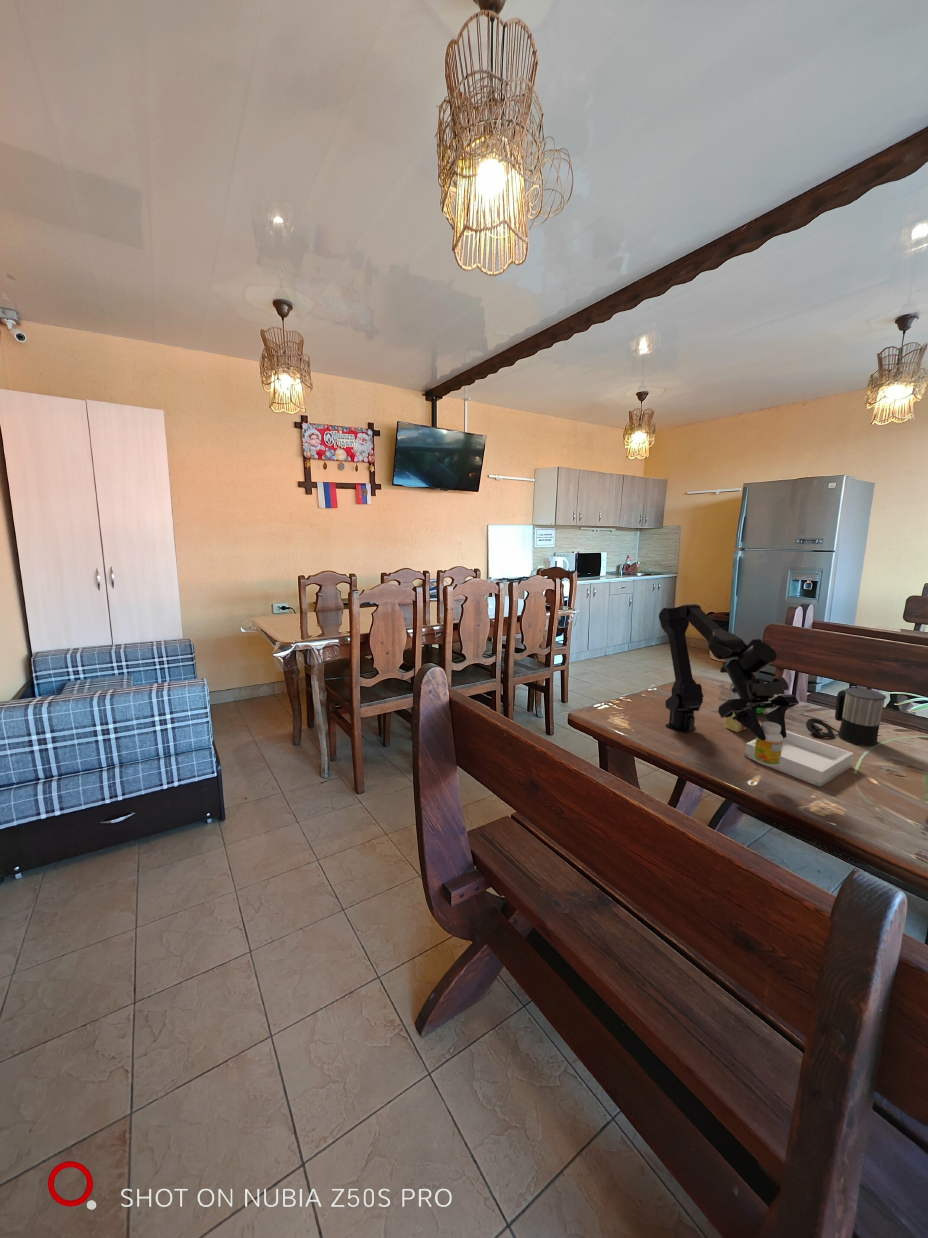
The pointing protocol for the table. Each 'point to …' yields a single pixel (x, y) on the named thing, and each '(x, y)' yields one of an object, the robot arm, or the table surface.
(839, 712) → the milk frother
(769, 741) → the supplement bottle
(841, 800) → the table surface
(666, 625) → the robot arm
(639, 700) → the table surface
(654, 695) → the table surface
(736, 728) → the candy box
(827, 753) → the box
